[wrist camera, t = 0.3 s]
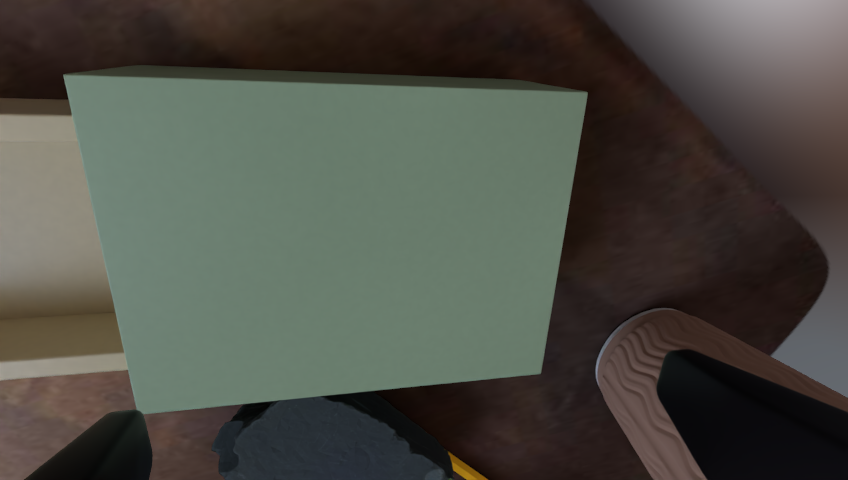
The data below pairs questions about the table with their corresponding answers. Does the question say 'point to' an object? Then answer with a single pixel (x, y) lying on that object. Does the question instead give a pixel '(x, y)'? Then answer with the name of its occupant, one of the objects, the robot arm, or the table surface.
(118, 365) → the drawer
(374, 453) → the stone
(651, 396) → the coffee cup
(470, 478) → the pencil
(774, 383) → the robot arm
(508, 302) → the cabinet
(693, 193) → the table surface
